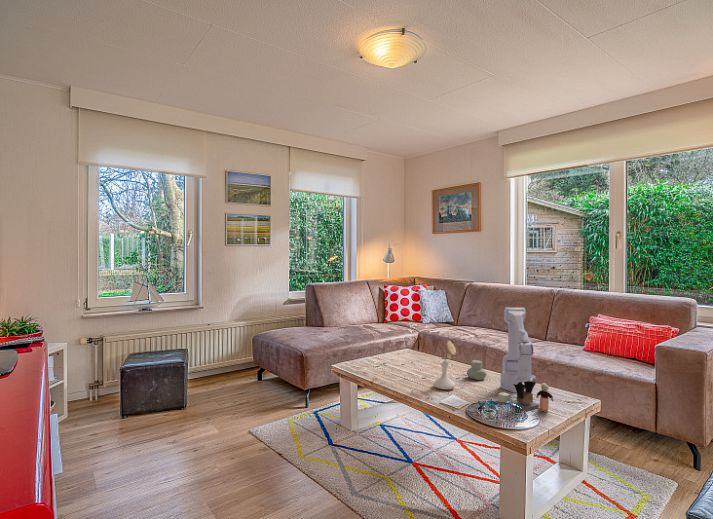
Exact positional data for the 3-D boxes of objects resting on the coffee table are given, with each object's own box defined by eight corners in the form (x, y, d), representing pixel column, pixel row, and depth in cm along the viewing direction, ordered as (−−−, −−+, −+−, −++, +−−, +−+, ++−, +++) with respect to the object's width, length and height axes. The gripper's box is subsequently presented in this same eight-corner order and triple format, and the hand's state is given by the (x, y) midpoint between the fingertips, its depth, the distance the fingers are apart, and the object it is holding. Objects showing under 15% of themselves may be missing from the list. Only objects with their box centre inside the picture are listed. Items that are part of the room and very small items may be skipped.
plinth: (509, 405, 190) (509, 401, 190) (522, 401, 195) (522, 398, 195) (526, 411, 183) (526, 408, 183) (538, 407, 187) (538, 404, 187)
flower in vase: (444, 392, 207) (444, 344, 206) (428, 386, 216) (429, 340, 216) (461, 388, 214) (462, 341, 214) (446, 382, 223) (446, 337, 223)
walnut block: (516, 401, 190) (516, 392, 190) (523, 398, 192) (523, 390, 192) (525, 404, 185) (525, 395, 185) (532, 402, 188) (532, 393, 188)
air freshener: (471, 381, 226) (471, 363, 226) (464, 377, 234) (464, 359, 234) (488, 380, 228) (489, 362, 228) (481, 376, 236) (481, 359, 236)
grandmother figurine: (534, 410, 184) (534, 382, 184) (536, 407, 187) (536, 380, 187) (553, 414, 179) (553, 386, 179) (554, 411, 183) (554, 383, 183)
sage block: (498, 401, 195) (498, 393, 195) (503, 400, 197) (503, 392, 197) (504, 404, 192) (505, 395, 192) (510, 402, 194) (510, 394, 194)
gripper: (522, 372, 182) (521, 402, 182) (541, 368, 189) (541, 397, 189) (508, 368, 188) (508, 397, 188) (528, 364, 195) (528, 392, 195)
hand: (524, 397), depth 189 cm, fingers closed on walnut block, 5 cm apart
